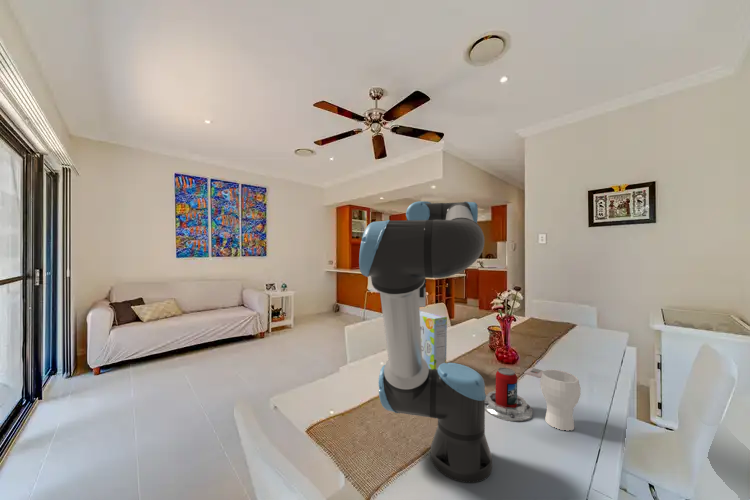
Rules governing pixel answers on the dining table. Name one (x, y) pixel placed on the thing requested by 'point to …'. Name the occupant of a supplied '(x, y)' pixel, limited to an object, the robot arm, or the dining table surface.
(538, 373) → the remote control
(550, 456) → the dining table surface
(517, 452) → the dining table surface
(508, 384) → the beverage can
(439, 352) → the snack box
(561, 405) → the cup
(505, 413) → the flange
